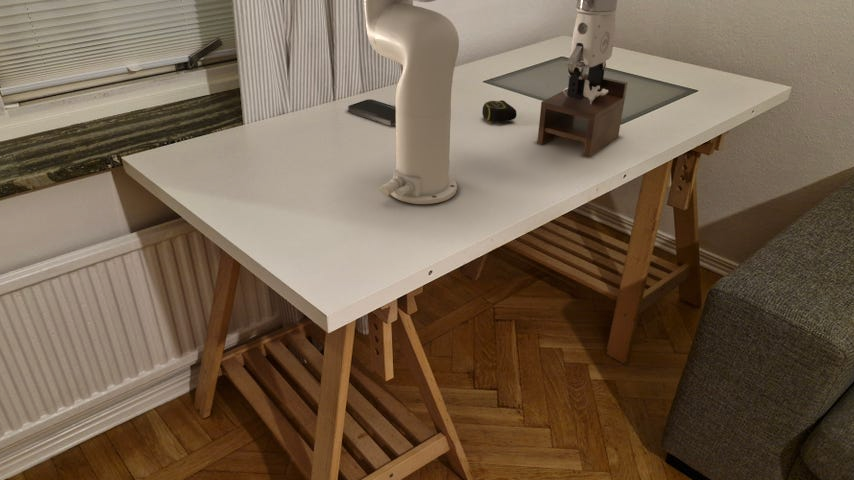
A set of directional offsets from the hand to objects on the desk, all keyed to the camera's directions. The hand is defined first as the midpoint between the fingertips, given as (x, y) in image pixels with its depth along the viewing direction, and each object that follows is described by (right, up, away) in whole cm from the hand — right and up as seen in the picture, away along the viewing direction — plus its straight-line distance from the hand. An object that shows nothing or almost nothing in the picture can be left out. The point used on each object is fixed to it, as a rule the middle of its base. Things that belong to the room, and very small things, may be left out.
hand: (584, 91), depth 142 cm
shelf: (0, -9, +6) cm, 11 cm away
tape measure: (-16, -2, +16) cm, 23 cm away
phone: (-43, -1, +18) cm, 47 cm away
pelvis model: (0, -2, +1) cm, 2 cm away
